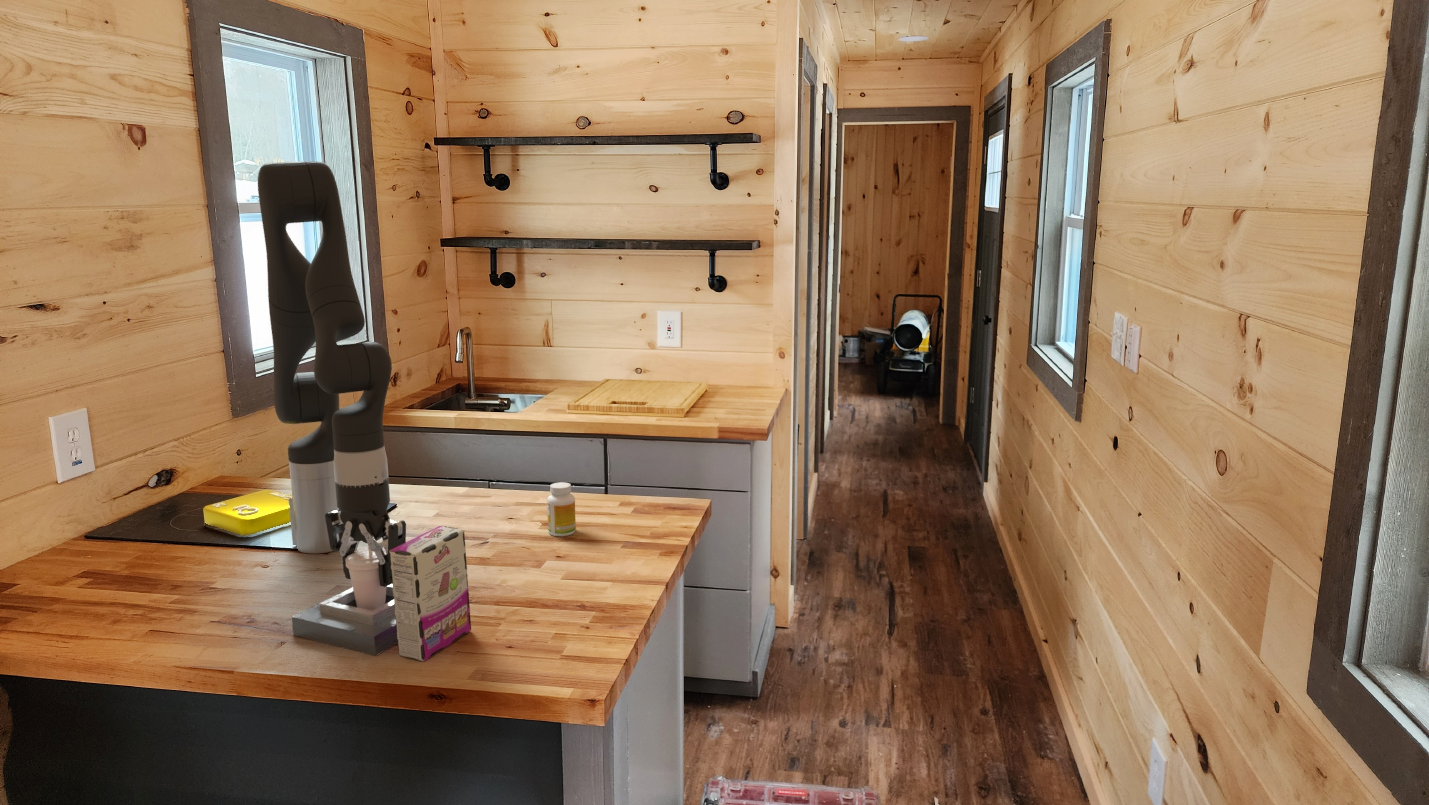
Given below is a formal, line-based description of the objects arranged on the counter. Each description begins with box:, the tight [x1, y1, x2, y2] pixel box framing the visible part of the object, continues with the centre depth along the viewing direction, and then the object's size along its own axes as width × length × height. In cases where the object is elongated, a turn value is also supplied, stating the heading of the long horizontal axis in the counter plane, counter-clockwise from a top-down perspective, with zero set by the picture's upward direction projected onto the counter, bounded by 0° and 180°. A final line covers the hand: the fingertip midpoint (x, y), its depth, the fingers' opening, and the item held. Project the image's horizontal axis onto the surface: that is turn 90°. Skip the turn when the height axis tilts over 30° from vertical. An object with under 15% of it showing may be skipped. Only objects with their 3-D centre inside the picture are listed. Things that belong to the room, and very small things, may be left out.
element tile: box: [202, 489, 292, 535], centre depth 191 cm, size 15×15×5 cm
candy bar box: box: [389, 525, 472, 662], centre depth 138 cm, size 11×5×16 cm, turn 157°
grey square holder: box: [291, 584, 398, 657], centre depth 145 cm, size 16×16×4 cm
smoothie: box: [345, 544, 387, 611], centre depth 144 cm, size 6×6×14 cm
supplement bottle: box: [546, 481, 577, 537], centre depth 185 cm, size 5×5×10 cm
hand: (369, 580), depth 144 cm, fingers closed on smoothie, 6 cm apart
